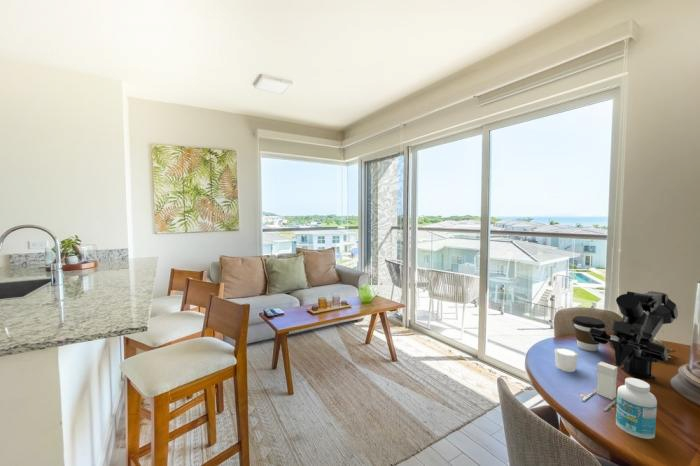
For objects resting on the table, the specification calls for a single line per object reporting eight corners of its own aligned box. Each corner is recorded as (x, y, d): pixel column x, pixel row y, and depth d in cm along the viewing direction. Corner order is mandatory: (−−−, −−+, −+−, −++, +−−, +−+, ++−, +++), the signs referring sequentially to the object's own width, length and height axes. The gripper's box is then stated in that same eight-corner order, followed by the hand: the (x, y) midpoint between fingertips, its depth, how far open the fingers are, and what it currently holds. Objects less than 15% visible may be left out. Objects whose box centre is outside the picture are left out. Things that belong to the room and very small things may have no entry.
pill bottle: (608, 422, 82) (610, 374, 81) (634, 422, 82) (637, 374, 81) (634, 443, 75) (637, 391, 74) (663, 442, 75) (666, 390, 74)
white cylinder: (581, 376, 105) (582, 357, 104) (559, 374, 106) (560, 355, 106) (571, 366, 112) (571, 348, 111) (550, 365, 113) (551, 346, 113)
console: (595, 386, 99) (595, 382, 99) (631, 401, 91) (631, 396, 91) (575, 401, 91) (575, 396, 91) (612, 418, 84) (613, 413, 84)
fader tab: (600, 390, 95) (601, 361, 94) (616, 397, 91) (617, 367, 91) (596, 393, 93) (597, 363, 93) (612, 400, 90) (613, 369, 89)
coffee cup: (606, 356, 119) (608, 326, 118) (572, 350, 125) (573, 321, 124) (601, 345, 128) (603, 318, 127) (570, 340, 134) (571, 314, 133)
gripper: (591, 304, 106) (576, 342, 101) (667, 320, 90) (653, 366, 85) (600, 321, 110) (586, 359, 105) (673, 339, 94) (660, 384, 90)
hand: (618, 366), depth 96 cm, fingers closed
